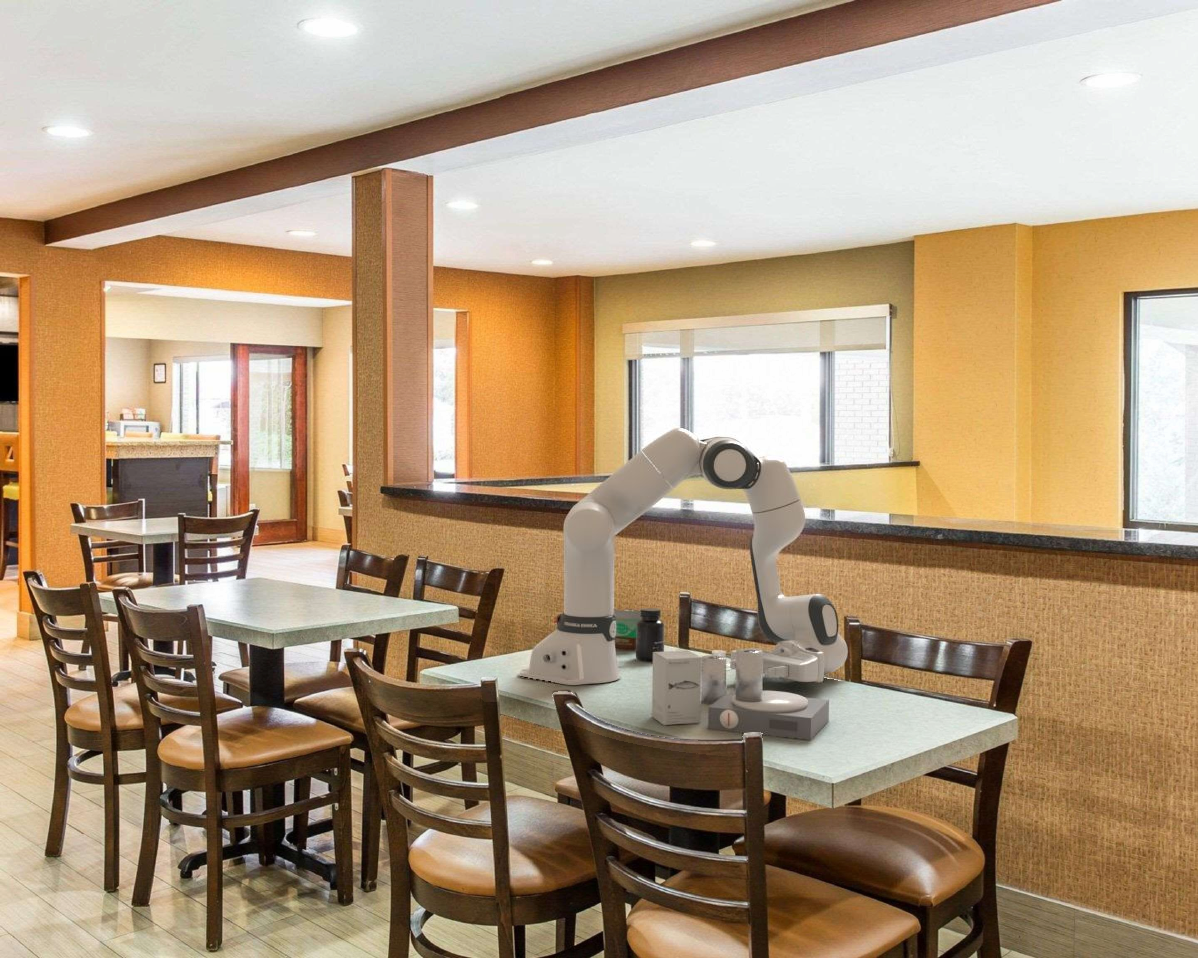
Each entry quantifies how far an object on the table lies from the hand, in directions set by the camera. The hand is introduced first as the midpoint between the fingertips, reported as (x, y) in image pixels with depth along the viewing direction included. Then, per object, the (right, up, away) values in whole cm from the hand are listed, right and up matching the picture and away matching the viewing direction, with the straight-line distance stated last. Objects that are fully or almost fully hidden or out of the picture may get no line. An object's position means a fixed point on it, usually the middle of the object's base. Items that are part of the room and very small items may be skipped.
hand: (749, 668), depth 236 cm
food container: (-24, -3, +49) cm, 55 cm away
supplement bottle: (-19, -4, +36) cm, 41 cm away
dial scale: (0, -6, -25) cm, 26 cm away
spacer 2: (-4, -1, -26) cm, 26 cm away
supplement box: (-17, -6, -22) cm, 28 cm away
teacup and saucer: (-1, -5, +29) cm, 30 cm away
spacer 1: (-8, -5, -7) cm, 12 cm away
